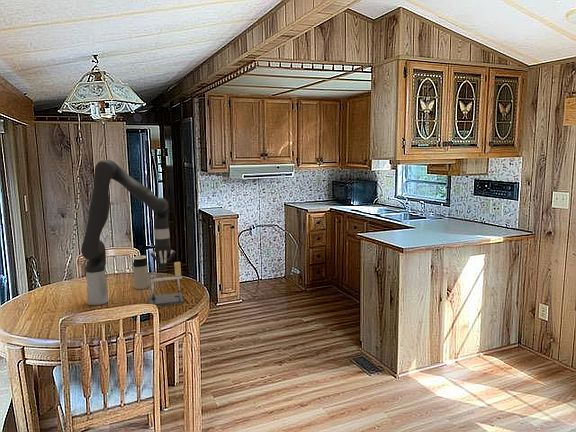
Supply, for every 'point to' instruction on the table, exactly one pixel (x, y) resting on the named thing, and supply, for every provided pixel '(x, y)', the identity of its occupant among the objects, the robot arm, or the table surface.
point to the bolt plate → (166, 298)
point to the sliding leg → (178, 273)
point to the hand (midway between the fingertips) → (163, 269)
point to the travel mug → (140, 272)
